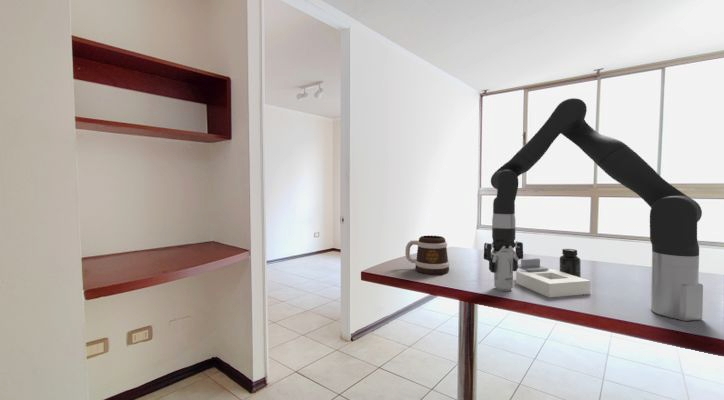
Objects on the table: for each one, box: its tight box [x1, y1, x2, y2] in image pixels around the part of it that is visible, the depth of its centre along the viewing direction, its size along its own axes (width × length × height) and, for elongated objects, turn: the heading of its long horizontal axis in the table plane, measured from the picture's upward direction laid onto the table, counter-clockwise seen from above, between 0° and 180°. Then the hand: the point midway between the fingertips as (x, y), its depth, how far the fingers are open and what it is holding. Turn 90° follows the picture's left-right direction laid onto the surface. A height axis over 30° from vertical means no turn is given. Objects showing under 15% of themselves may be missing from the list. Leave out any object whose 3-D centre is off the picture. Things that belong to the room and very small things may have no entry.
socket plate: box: [515, 268, 591, 298], centre depth 110 cm, size 16×16×4 cm
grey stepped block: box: [518, 257, 549, 272], centre depth 119 cm, size 8×8×4 cm
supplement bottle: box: [559, 248, 582, 278], centre depth 119 cm, size 7×7×12 cm
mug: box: [404, 235, 451, 276], centre depth 137 cm, size 20×15×15 cm
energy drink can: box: [493, 248, 514, 292], centre depth 109 cm, size 6×6×15 cm
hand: (503, 271), depth 109 cm, fingers open, 8 cm apart
